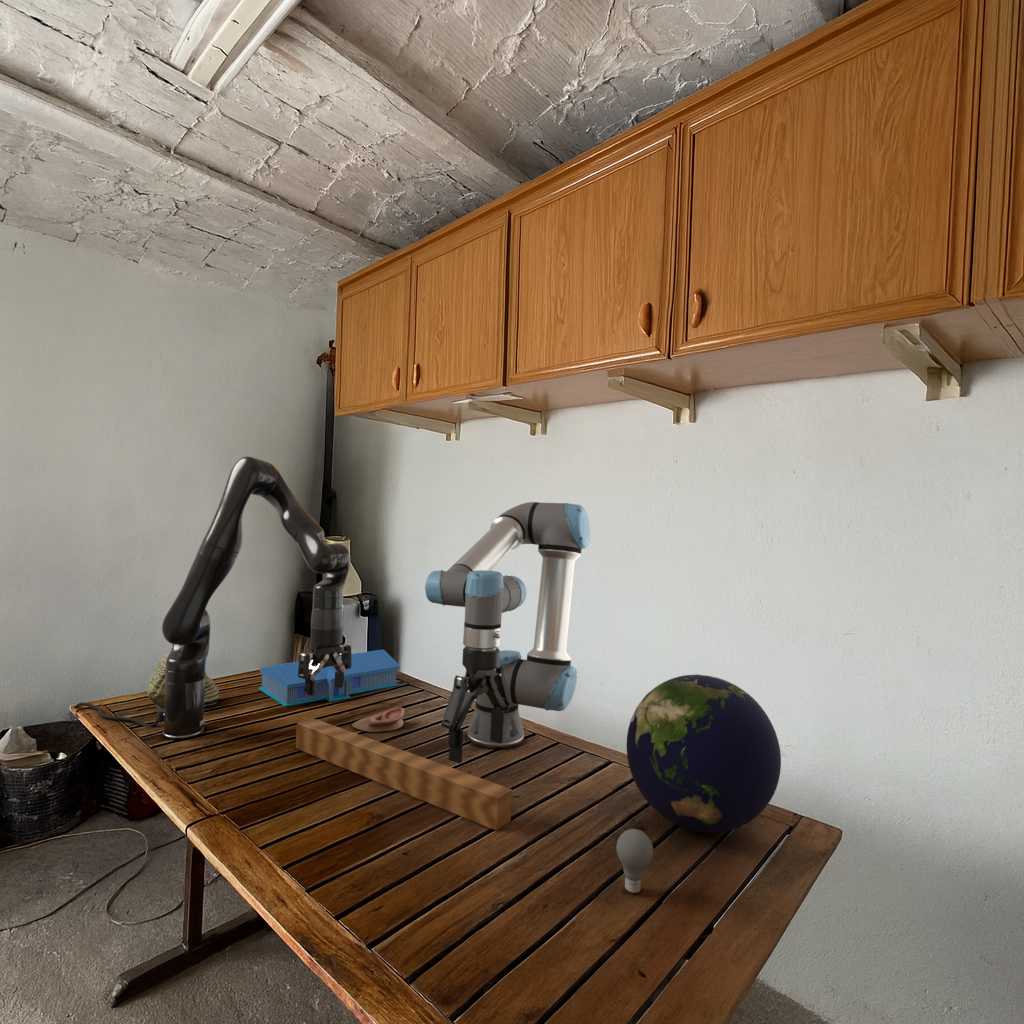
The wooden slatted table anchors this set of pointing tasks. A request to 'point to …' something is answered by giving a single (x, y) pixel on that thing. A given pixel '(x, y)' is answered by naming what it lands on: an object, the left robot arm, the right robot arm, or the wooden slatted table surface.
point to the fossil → (158, 687)
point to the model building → (330, 679)
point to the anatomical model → (381, 721)
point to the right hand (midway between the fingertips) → (476, 751)
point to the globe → (703, 753)
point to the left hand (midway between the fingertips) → (324, 690)
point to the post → (408, 773)
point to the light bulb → (634, 857)
